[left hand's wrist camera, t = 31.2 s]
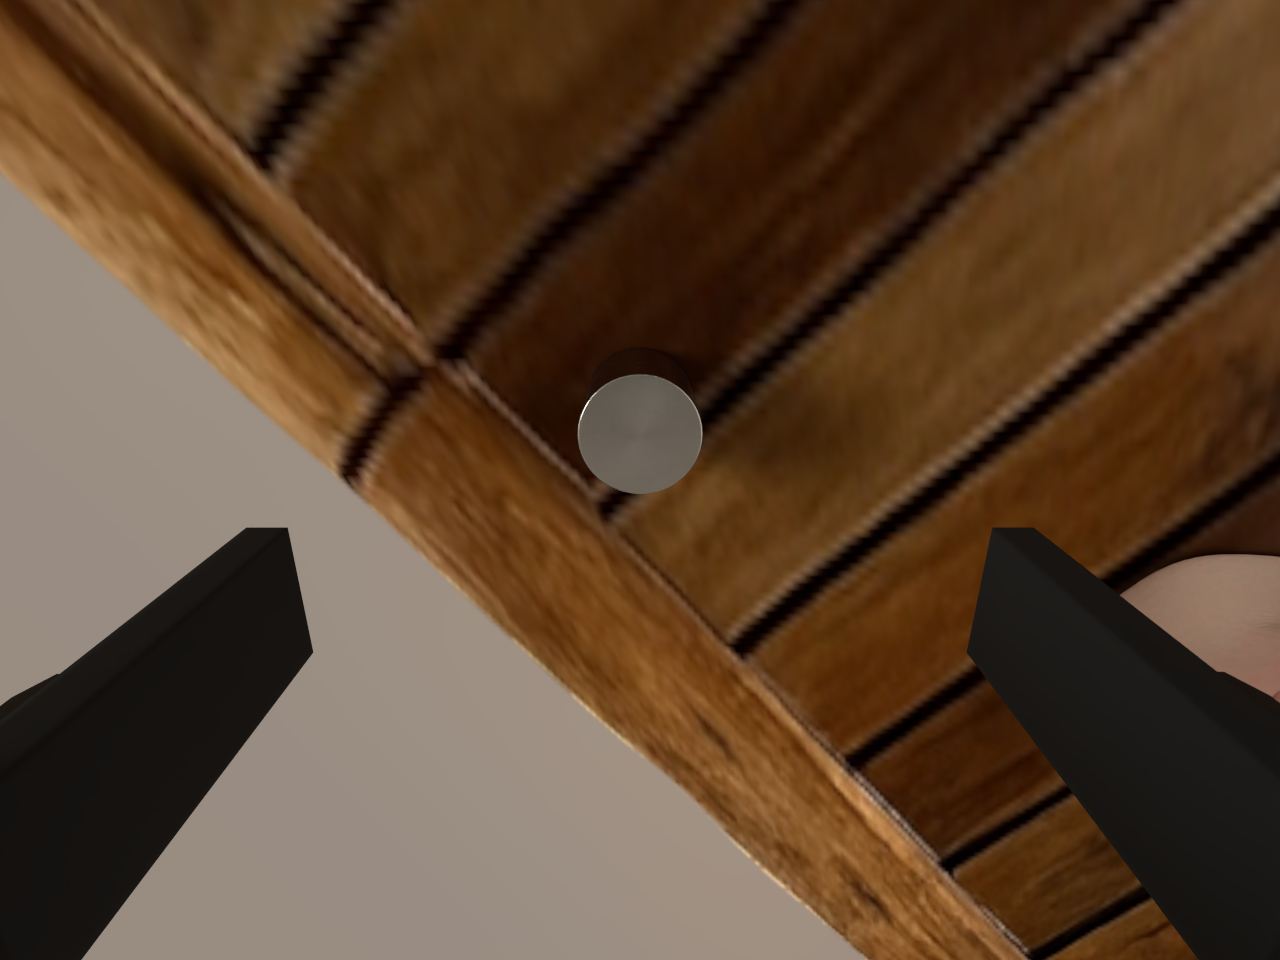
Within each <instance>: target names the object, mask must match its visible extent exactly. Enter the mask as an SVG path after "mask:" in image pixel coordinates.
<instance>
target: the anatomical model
mask: <svg viewBox="0 0 1280 960" xmlns="http://www.w3.org/2000/svg"><path fill="white" fill-rule="evenodd" d="M1120 596H1121V597H1123V598H1124V599H1125V600H1126V601H1128V602H1129V603H1130V604H1132V605H1133V606H1134V607H1135V608H1137V609H1138V610H1139V611H1140V612H1142V613H1143V614H1144V615H1146V616H1147V617H1148V618H1149V619H1151V620H1152V621H1153V622H1155V623H1156V624H1157V625H1158V626H1160V627H1161V628H1162V629H1163V630H1165V631H1166V632H1167V633H1169V634H1170V635H1171V636H1172V637H1174V638H1175V639H1176V640H1177V641H1179V642H1180V643H1181V644H1183V645H1184V646H1185V647H1186V648H1188V649H1189V650H1190V651H1192V652H1193V653H1194V654H1195V655H1197V656H1198V657H1199V658H1200V659H1202V660H1203V661H1204V662H1206V663H1207V664H1208V665H1209V666H1211V667H1212V668H1213V669H1214V670H1216V671H1217V672H1226V673H1228V674H1230V675H1231V676H1233V677H1235V678H1237V679H1239V680H1241V681H1243V682H1245V683H1247V684H1249V685H1251V686H1253V687H1255V688H1257V689H1259V690H1260V691H1262V692H1264V693H1266V694H1268V695H1270V696H1271V697H1273V698H1274V699H1275V700H1277V701H1278V702H1279V703H1280V557H1275V556H1264V555H1246V554H1220V555H1209V556H1201V557H1195V558H1191V559H1187V560H1183V561H1180V562H1177V563H1174V564H1171V565H1169V566H1167V567H1164V568H1162V569H1160V570H1158V571H1156V572H1154V573H1152V574H1150V575H1149V576H1147V577H1145V578H1144V579H1142V580H1140V581H1139V582H1137V583H1136V584H1135V585H1133V586H1132V587H1130V588H1129V589H1127V590H1126V591H1124V592H1123V593H1122V594H1121V595H1120Z"/></svg>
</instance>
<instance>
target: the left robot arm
mask: <svg viewBox="0 0 1280 960" xmlns="http://www.w3.org/2000/svg"><path fill="white" fill-rule="evenodd" d="M312 653H313V649H312V644H311V639H310V634H309V630H308V625H307V620H306V615H305V610H304V605H303V600H302V596H301V591H300V586H299V581H298V576H297V571H296V566H295V561H294V557H293V552H292V547H291V542H290V537H289V532H288V528H245V529H244V530H243V531H242V532H240V533H239V534H238V535H237V536H235V537H234V538H233V539H231V540H230V541H229V542H228V543H226V544H225V545H224V546H222V547H221V548H220V549H219V550H217V551H216V552H215V553H214V554H212V555H211V556H210V557H209V558H207V559H206V560H205V561H203V562H202V563H201V564H200V565H198V566H197V567H196V568H194V569H193V570H192V571H191V572H189V573H188V574H187V575H185V576H184V577H183V578H182V579H180V580H179V581H178V582H177V583H175V584H174V585H173V586H171V587H170V588H169V589H168V590H166V591H165V592H164V593H162V594H161V595H160V596H159V597H157V598H156V599H155V600H154V601H152V602H151V603H150V604H149V605H147V606H146V607H145V608H143V609H142V610H141V611H140V612H138V613H137V614H136V615H134V616H133V617H132V618H131V619H129V620H128V621H127V622H125V623H124V624H123V625H122V626H120V627H119V628H118V629H117V630H115V631H114V632H113V633H111V634H110V635H109V636H108V637H106V638H105V639H104V640H103V641H101V642H100V643H99V644H97V645H96V646H95V647H94V648H92V649H91V650H90V651H88V652H87V653H86V654H85V655H83V656H82V657H81V658H80V659H78V660H77V661H76V662H74V663H73V664H72V665H71V666H69V667H68V668H67V669H66V670H64V671H63V672H62V673H60V674H56V675H54V676H52V677H50V678H48V679H46V680H44V681H42V682H41V683H39V684H37V685H35V686H33V687H31V688H29V689H27V690H25V691H23V692H21V693H19V694H18V695H16V696H14V697H12V698H10V699H9V700H8V701H6V702H5V703H4V704H2V705H1V706H0V960H81V959H82V958H83V957H84V955H85V954H86V953H87V952H88V950H89V949H90V948H91V946H92V945H93V943H94V942H95V941H96V940H97V938H98V937H99V936H100V934H101V933H102V932H103V930H104V929H105V928H106V926H107V925H108V924H109V922H110V921H111V920H112V918H113V917H114V916H115V914H116V913H117V912H118V910H119V909H120V908H121V906H122V905H123V904H124V902H125V901H126V900H127V898H128V897H129V896H130V894H131V893H132V892H133V891H134V889H135V888H136V887H137V885H138V884H139V882H140V881H141V880H142V879H143V877H144V876H145V875H146V873H147V872H148V871H149V869H150V868H151V867H152V865H153V864H154V863H155V861H156V860H157V859H158V857H159V856H160V855H161V853H162V852H163V851H164V849H165V848H166V847H167V845H168V844H169V843H170V841H171V840H172V839H173V838H174V836H175V835H176V834H177V832H178V831H179V830H180V828H181V827H182V826H183V824H184V823H185V822H186V820H187V819H188V818H189V816H190V815H191V814H192V812H193V811H194V810H195V808H196V807H197V806H198V804H199V803H200V802H201V800H202V799H203V798H204V796H205V795H206V794H207V792H208V791H209V790H210V788H211V787H212V786H213V785H214V783H215V782H216V781H217V779H218V778H219V777H220V775H221V774H222V773H223V771H224V770H225V769H226V767H227V766H228V765H229V763H230V762H231V761H232V759H233V758H234V757H235V755H236V754H237V753H238V751H239V750H240V749H241V747H242V746H243V745H244V743H245V742H246V741H247V739H248V738H249V737H250V735H251V734H252V733H253V731H254V730H255V729H256V727H257V726H258V725H259V723H260V722H261V721H262V720H263V718H264V717H265V716H266V714H267V713H268V712H269V710H270V709H271V708H272V706H273V705H274V704H275V702H276V701H277V700H278V698H279V697H280V696H281V694H282V693H283V692H284V690H285V689H286V688H287V686H288V685H289V684H290V682H291V681H292V680H293V678H294V677H295V676H296V674H297V673H298V672H299V671H300V669H301V668H302V667H303V665H304V664H305V663H306V661H307V660H308V658H309V657H310V656H311V655H312ZM967 653H968V655H969V656H970V657H971V659H972V660H973V661H974V663H975V664H976V665H977V667H978V668H979V669H980V671H981V672H982V673H983V675H984V676H985V677H986V678H987V680H988V681H989V682H990V684H991V685H992V686H993V688H994V689H995V690H996V692H997V693H998V694H999V696H1000V697H1001V698H1002V700H1003V701H1004V702H1005V704H1006V705H1007V706H1008V708H1009V709H1010V710H1011V712H1012V713H1013V714H1014V716H1015V717H1016V718H1017V720H1018V721H1019V722H1020V724H1021V725H1022V726H1023V728H1024V729H1025V730H1026V731H1027V733H1028V734H1029V735H1030V737H1031V738H1032V739H1033V741H1034V742H1035V743H1036V745H1037V746H1038V747H1039V749H1040V750H1041V751H1042V753H1043V754H1044V755H1045V757H1046V758H1047V759H1048V761H1049V762H1050V763H1051V765H1052V766H1053V767H1054V769H1055V770H1056V771H1057V773H1058V774H1059V775H1060V777H1061V778H1062V779H1063V781H1064V782H1065V783H1066V785H1067V786H1068V787H1069V788H1070V790H1071V791H1072V792H1073V794H1074V795H1075V796H1076V798H1077V799H1078V800H1079V802H1080V803H1081V804H1082V806H1083V807H1084V808H1085V810H1086V811H1087V812H1088V814H1089V815H1090V816H1091V818H1092V819H1093V820H1094V822H1095V823H1096V824H1097V826H1098V827H1099V828H1100V830H1101V831H1102V832H1103V834H1104V835H1105V836H1106V838H1107V839H1108V840H1109V842H1110V843H1111V844H1112V845H1113V847H1114V848H1115V849H1116V851H1117V852H1118V853H1119V855H1120V856H1121V857H1122V859H1123V860H1124V861H1125V863H1126V864H1127V865H1128V867H1129V868H1130V869H1131V871H1132V872H1133V873H1134V875H1135V876H1136V877H1137V879H1138V880H1139V881H1140V883H1141V884H1142V885H1143V887H1144V888H1145V889H1146V891H1147V892H1148V893H1149V895H1150V896H1151V897H1152V898H1153V900H1154V901H1155V902H1156V904H1157V905H1158V906H1159V908H1160V909H1161V910H1162V912H1163V913H1164V914H1165V916H1166V917H1167V918H1168V920H1169V921H1170V922H1171V924H1172V925H1173V926H1174V928H1175V929H1176V930H1177V932H1178V933H1179V934H1180V936H1181V937H1182V938H1183V940H1184V941H1185V942H1186V944H1187V945H1188V946H1189V948H1190V949H1191V950H1192V952H1193V953H1194V954H1195V955H1196V957H1197V958H1198V959H1199V960H1280V703H1279V702H1278V701H1277V700H1275V699H1274V698H1273V697H1271V696H1270V695H1268V694H1266V693H1264V692H1262V691H1260V690H1259V689H1257V688H1255V687H1253V686H1251V685H1249V684H1247V683H1245V682H1243V681H1241V680H1239V679H1237V678H1235V677H1233V676H1231V675H1230V674H1228V673H1226V672H1217V671H1216V670H1214V669H1213V668H1212V667H1211V666H1209V665H1208V664H1207V663H1206V662H1204V661H1203V660H1202V659H1200V658H1199V657H1198V656H1197V655H1195V654H1194V653H1193V652H1192V651H1190V650H1189V649H1188V648H1186V647H1185V646H1184V645H1183V644H1181V643H1180V642H1179V641H1177V640H1176V639H1175V638H1174V637H1172V636H1171V635H1170V634H1169V633H1167V632H1166V631H1165V630H1163V629H1162V628H1161V627H1160V626H1158V625H1157V624H1156V623H1155V622H1153V621H1152V620H1151V619H1149V618H1148V617H1147V616H1146V615H1144V614H1143V613H1142V612H1140V611H1139V610H1138V609H1137V608H1135V607H1134V606H1133V605H1132V604H1130V603H1129V602H1128V601H1126V600H1125V599H1124V598H1123V597H1121V596H1120V595H1119V594H1118V593H1116V592H1115V591H1114V590H1112V589H1111V588H1110V587H1109V586H1107V585H1106V584H1105V583H1103V582H1102V581H1101V580H1100V579H1098V578H1097V577H1096V576H1095V575H1093V574H1092V573H1091V572H1089V571H1088V570H1087V569H1086V568H1084V567H1083V566H1082V565H1081V564H1079V563H1078V562H1077V561H1075V560H1074V559H1073V558H1072V557H1070V556H1069V555H1068V554H1066V553H1065V552H1064V551H1063V550H1061V549H1060V548H1059V547H1058V546H1056V545H1055V544H1054V543H1052V542H1051V541H1050V540H1049V539H1047V538H1046V537H1045V536H1044V535H1042V534H1041V533H1040V532H1038V531H1037V530H1036V529H1035V528H992V532H991V537H990V542H989V547H988V552H987V557H986V561H985V566H984V571H983V576H982V581H981V586H980V591H979V596H978V600H977V605H976V610H975V615H974V620H973V625H972V630H971V634H970V639H969V644H968V649H967Z"/></svg>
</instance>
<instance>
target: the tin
mask: <svg viewBox="0 0 1280 960" xmlns="http://www.w3.org/2000/svg"><path fill="white" fill-rule="evenodd" d="M702 440H703V428H702V422H701V417H700V414H699V411H698V407H697V404H696V401H695V398H694V394H693V391H692V388H691V385H690V382H689V379H688V377H687V375H686V373H685V372H684V370H683V369H682V368H681V367H680V365H679V364H678V363H677V362H676V361H674V360H673V359H672V358H671V357H669V356H667V355H666V354H664V353H661V352H659V351H656V350H652V349H647V348H634V349H628V350H624V351H621V352H619V353H617V354H615V355H613V356H611V357H610V358H608V359H607V360H606V361H605V362H604V363H603V364H602V365H601V366H600V367H599V368H598V369H597V371H596V372H595V374H594V376H593V378H592V380H591V382H590V386H589V389H588V392H587V395H586V399H585V402H584V405H583V409H582V412H581V415H580V419H579V423H578V444H579V448H580V452H581V455H582V457H583V459H584V461H585V463H586V464H587V466H588V468H589V469H590V470H591V471H592V473H593V474H594V475H595V476H596V477H597V478H599V479H600V480H601V481H603V482H604V483H605V484H607V485H609V486H611V487H613V488H615V489H617V490H620V491H624V492H628V493H637V494H644V493H652V492H656V491H660V490H663V489H666V488H668V487H670V486H672V485H673V484H675V483H676V482H678V481H679V480H681V479H682V478H683V477H684V476H685V475H686V474H687V473H688V472H689V471H690V469H691V468H692V466H693V465H694V464H695V462H696V460H697V458H698V456H699V453H700V450H701V446H702Z"/></svg>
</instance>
